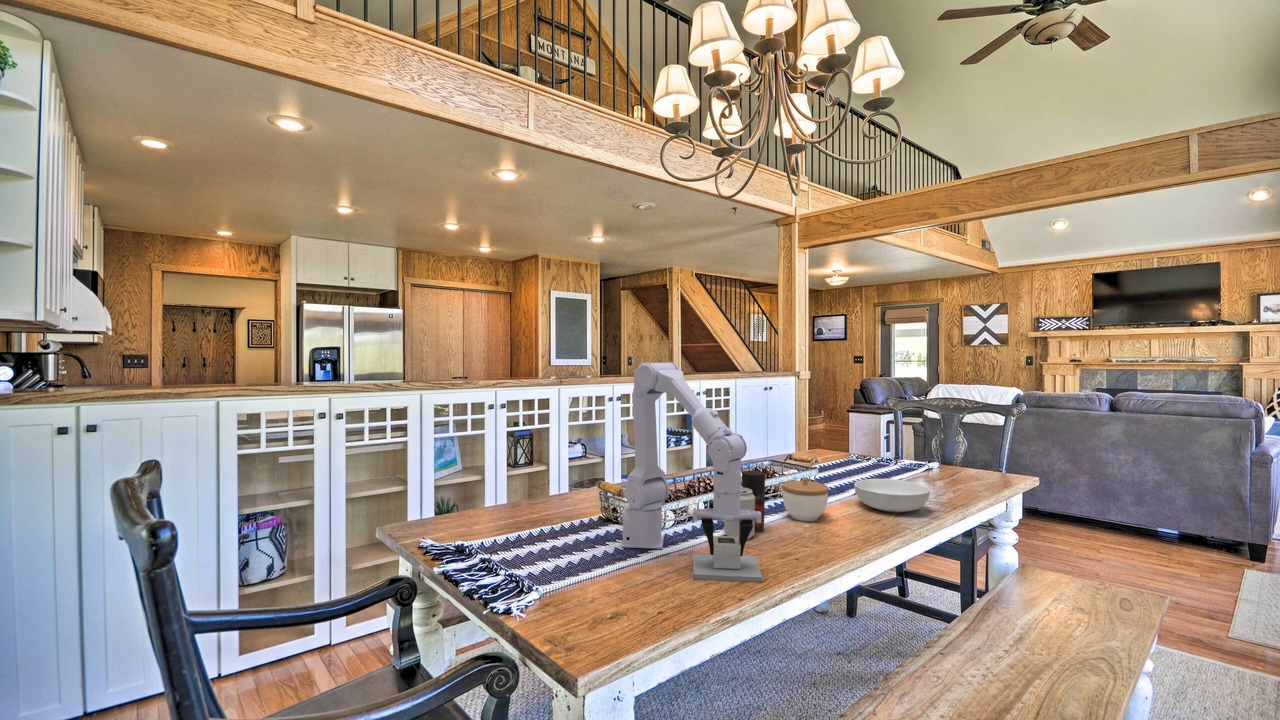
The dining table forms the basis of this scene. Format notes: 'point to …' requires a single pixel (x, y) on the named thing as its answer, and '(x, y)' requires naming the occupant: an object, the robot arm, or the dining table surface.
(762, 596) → the dining table surface
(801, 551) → the dining table surface
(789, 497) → the lidded bowl
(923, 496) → the serving bowl
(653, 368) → the robot arm
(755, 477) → the deodorant
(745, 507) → the can
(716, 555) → the collar
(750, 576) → the post block
